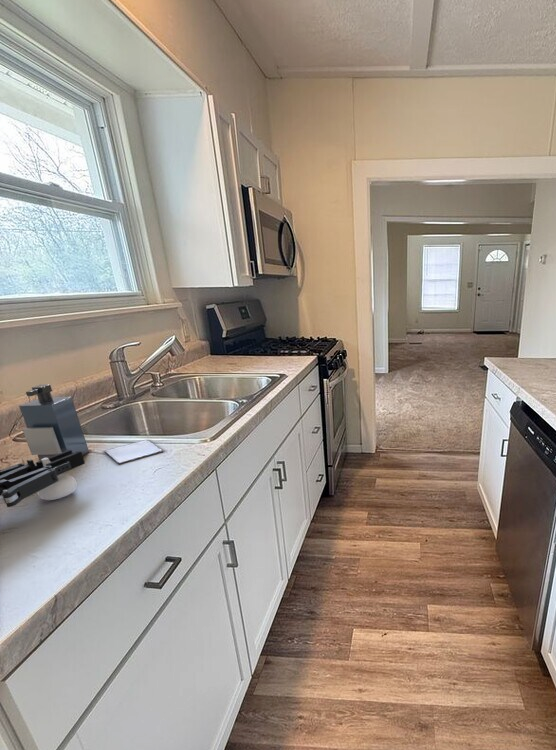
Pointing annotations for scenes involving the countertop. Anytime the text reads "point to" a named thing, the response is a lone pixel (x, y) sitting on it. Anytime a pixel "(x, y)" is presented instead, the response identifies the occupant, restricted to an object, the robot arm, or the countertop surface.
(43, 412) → the soap dispenser
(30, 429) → the dispenser paddle
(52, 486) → the garlic bulb
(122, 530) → the countertop surface
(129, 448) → the flat dark-edged slab
